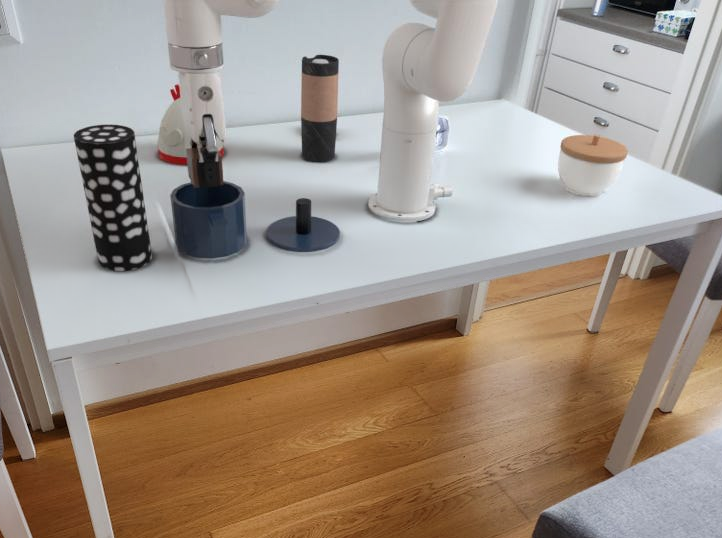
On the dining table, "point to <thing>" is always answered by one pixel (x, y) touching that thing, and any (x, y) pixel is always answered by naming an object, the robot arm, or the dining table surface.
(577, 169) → the lidded bowl
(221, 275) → the dining table surface
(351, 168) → the dining table surface
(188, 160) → the block
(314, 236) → the lid
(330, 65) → the travel mug
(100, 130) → the spotted tube
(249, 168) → the dining table surface
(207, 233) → the pot
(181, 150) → the kitchen timer
